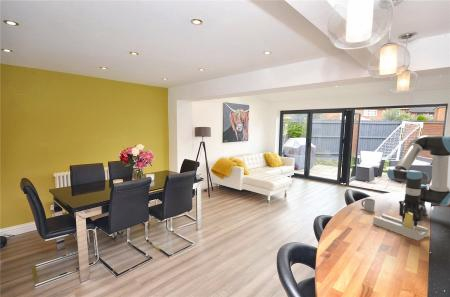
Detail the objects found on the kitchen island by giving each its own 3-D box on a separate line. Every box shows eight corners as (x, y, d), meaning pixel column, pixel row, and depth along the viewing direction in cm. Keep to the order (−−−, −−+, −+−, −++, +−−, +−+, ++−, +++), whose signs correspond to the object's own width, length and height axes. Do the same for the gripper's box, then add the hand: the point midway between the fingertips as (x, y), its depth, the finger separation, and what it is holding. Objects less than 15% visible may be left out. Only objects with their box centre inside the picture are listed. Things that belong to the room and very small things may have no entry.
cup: (371, 212, 184) (372, 201, 183) (358, 208, 192) (359, 198, 191) (375, 210, 188) (376, 200, 187) (362, 206, 196) (363, 197, 195)
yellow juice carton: (407, 228, 152) (409, 211, 151) (414, 231, 148) (416, 213, 147) (402, 230, 149) (404, 213, 147) (409, 233, 145) (411, 215, 144)
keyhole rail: (383, 220, 169) (383, 213, 168) (428, 235, 145) (429, 228, 144) (372, 223, 162) (373, 216, 162) (417, 240, 138) (418, 232, 138)
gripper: (394, 191, 152) (391, 224, 154) (426, 198, 137) (422, 235, 139) (400, 190, 155) (397, 222, 158) (431, 197, 140) (427, 233, 142)
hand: (408, 228), depth 148 cm, fingers closed on yellow juice carton, 4 cm apart
